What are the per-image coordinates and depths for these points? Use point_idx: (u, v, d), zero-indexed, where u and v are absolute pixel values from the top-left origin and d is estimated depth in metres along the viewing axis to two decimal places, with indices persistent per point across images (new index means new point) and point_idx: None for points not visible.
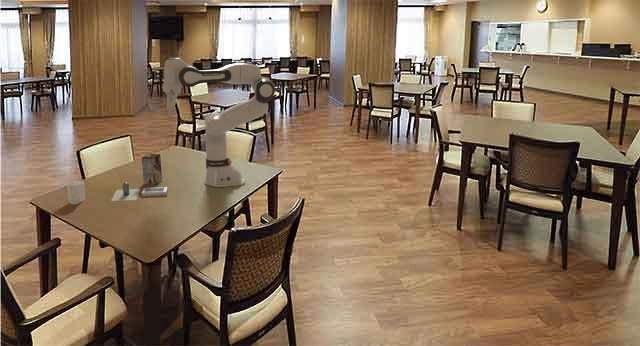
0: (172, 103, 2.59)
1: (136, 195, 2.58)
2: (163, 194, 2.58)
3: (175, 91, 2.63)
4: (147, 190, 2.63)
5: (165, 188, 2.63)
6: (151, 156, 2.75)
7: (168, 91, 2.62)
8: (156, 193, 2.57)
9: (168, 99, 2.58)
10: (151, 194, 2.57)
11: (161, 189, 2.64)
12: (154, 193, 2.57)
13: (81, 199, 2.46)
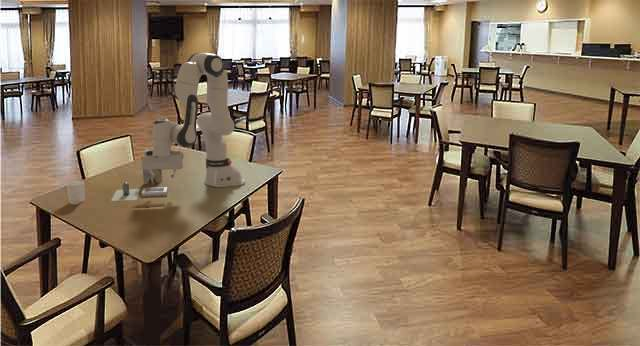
0: None
1: (136, 195, 2.58)
2: (163, 194, 2.58)
3: None
4: (147, 190, 2.63)
5: (165, 188, 2.63)
6: None
7: (170, 153, 2.56)
8: (156, 193, 2.57)
9: (182, 159, 2.58)
10: (151, 194, 2.57)
11: (161, 189, 2.64)
12: (154, 193, 2.57)
13: (81, 199, 2.46)
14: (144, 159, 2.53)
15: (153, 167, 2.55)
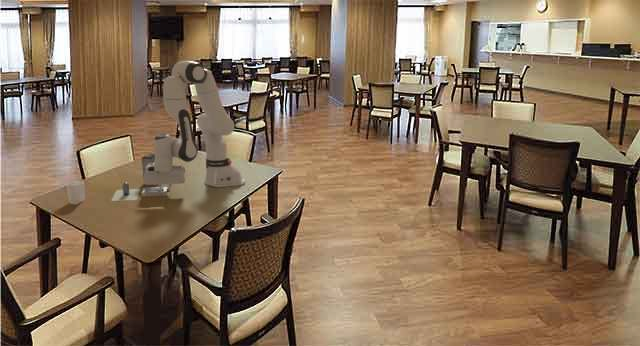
0: (184, 176, 2.63)
1: (136, 195, 2.58)
2: (163, 194, 2.58)
3: None
4: (147, 190, 2.63)
5: (165, 188, 2.63)
6: (151, 156, 2.75)
7: (172, 168, 2.58)
8: (156, 193, 2.57)
9: (183, 174, 2.61)
10: (151, 194, 2.57)
11: None
12: (154, 193, 2.57)
13: (81, 199, 2.46)
14: (146, 175, 2.56)
15: (155, 182, 2.58)
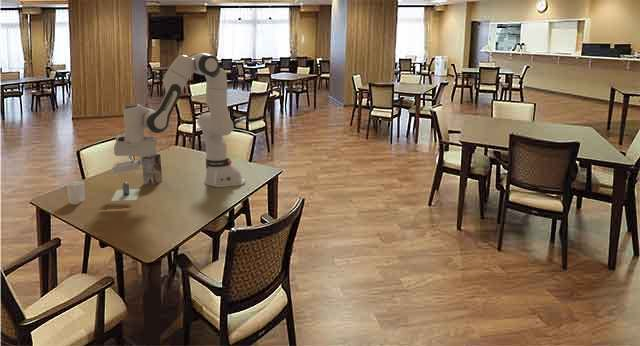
0: (156, 147, 2.56)
1: (136, 195, 2.58)
2: (134, 166, 2.51)
3: None
4: (119, 165, 2.56)
5: (136, 160, 2.56)
6: (151, 156, 2.75)
7: (143, 139, 2.51)
8: (127, 166, 2.51)
9: (155, 145, 2.54)
10: (122, 168, 2.50)
11: None
12: (125, 166, 2.50)
13: (81, 199, 2.46)
14: (116, 145, 2.49)
15: (126, 153, 2.51)
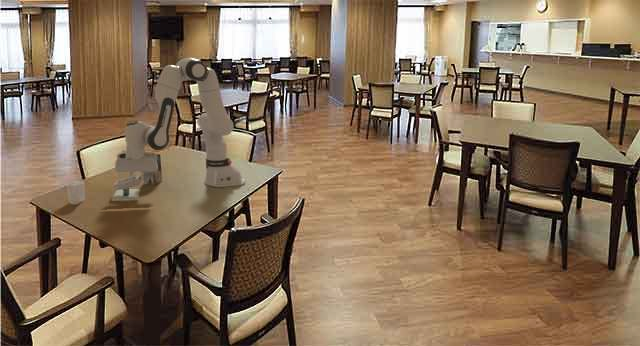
0: (157, 164, 2.58)
1: (136, 195, 2.58)
2: (135, 182, 2.54)
3: None
4: (120, 182, 2.58)
5: (137, 176, 2.58)
6: None
7: (144, 155, 2.53)
8: (128, 183, 2.53)
9: (156, 161, 2.56)
10: (123, 185, 2.53)
11: None
12: (126, 183, 2.53)
13: (81, 199, 2.46)
14: (117, 162, 2.51)
15: (127, 169, 2.53)
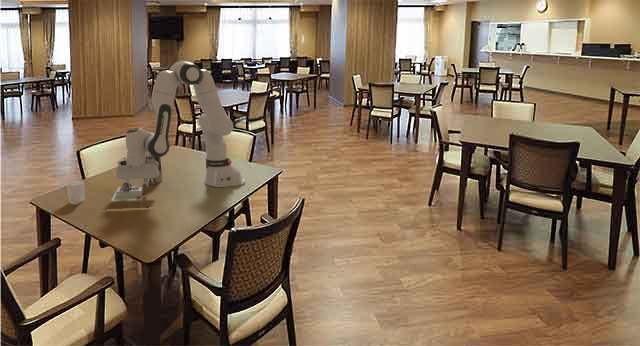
0: None
1: None
2: (138, 193, 2.56)
3: None
4: (122, 189, 2.60)
5: (140, 187, 2.60)
6: (151, 156, 2.75)
7: (144, 162, 2.54)
8: (131, 192, 2.55)
9: (156, 168, 2.57)
10: (126, 193, 2.54)
11: (136, 188, 2.61)
12: (129, 192, 2.54)
13: (81, 199, 2.46)
14: (118, 169, 2.52)
15: (128, 176, 2.54)
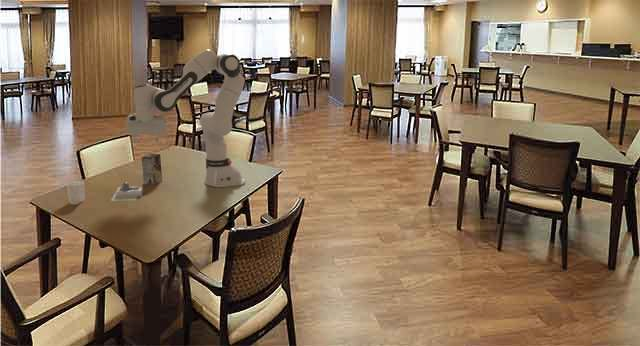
0: (166, 126, 2.65)
1: None
2: (138, 193, 2.56)
3: None
4: (122, 189, 2.60)
5: (140, 187, 2.60)
6: (151, 156, 2.75)
7: (153, 117, 2.60)
8: (131, 192, 2.55)
9: (165, 123, 2.62)
10: (126, 193, 2.54)
11: (136, 188, 2.61)
12: (129, 192, 2.54)
13: (81, 199, 2.46)
14: (128, 124, 2.57)
15: (137, 132, 2.60)
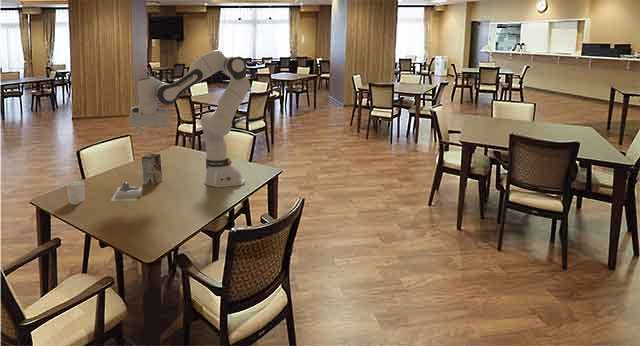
0: (168, 119, 2.67)
1: None
2: (138, 193, 2.56)
3: None
4: (122, 189, 2.60)
5: (140, 187, 2.60)
6: (151, 156, 2.75)
7: (156, 110, 2.62)
8: (131, 192, 2.55)
9: (167, 116, 2.65)
10: (126, 193, 2.54)
11: (136, 188, 2.61)
12: (129, 192, 2.54)
13: (81, 199, 2.46)
14: (130, 116, 2.60)
15: (140, 124, 2.62)
